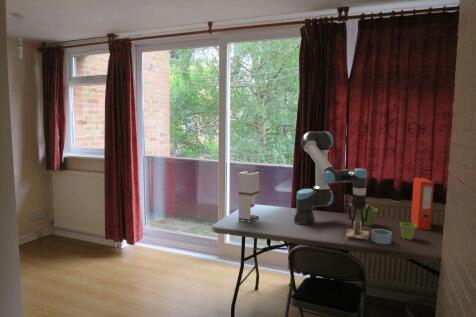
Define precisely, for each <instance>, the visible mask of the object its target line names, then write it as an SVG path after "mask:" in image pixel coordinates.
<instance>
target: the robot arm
mask: <svg viewBox="0 0 476 317" xmlns="http://www.w3.org/2000/svg"><path fill="white" fill-rule="evenodd" d="M300 145H301V147H302V149H303V150H304V152H306V153H307V154H308V155H309V156H310V158H311V159H312V161H313V162H314V164H315V185H314V186H313V188H302V189H300V190H298V191H297V192H296V212H295V215H294V217H293V223H294V222H295V223H294V224H296V223H298V224H297V225H300V224H302V225H301V226H312V224H313V225H315V224H316V218H315V214H314V208H318V207H327V206H330V205H331V204H332V203H333V201H334V194H333V191H332V190H331V187H330V186H329V184H336V183H352V200H351V202H348V203H347V207H348V218H349V219H348V220H350V221H351V225H352V226H353V229H354V230H353V231H354V232H355V223H356V222H357V221H356V219H355V218H356V213H357V210H359V211H360V218H361V220H360V222H359V223H360V232H361V230H362V228H364V222H365V221H367V217H368V211H369V208H370V207H371V205H370V204H367V202H366V197H367V195H366V194H367V182H368V181H367V178H368V173H367V172H368V171H367V169H365V168H354V169H353V170H352V169H349V168H344V169H341V170H340V169H339V170H338V169H337V170H336V169H335V168H334V167H333V165H332V164H331V163H330V162H329V160H328V158H329V155H328V153H329V152H330V150H331V148H332V147H333V145H334V136H333V135H332V133H331V132H329V131H325V130H321V131H318V130H317V131H310V130H309V131H307V132H306V133H304V134H303V135H302V137H301V141H300ZM352 206H353V208H354V209H353V214H352ZM364 207H366V208H367V209H366V215H365V219H364V216H363V208H364ZM362 231H363V230H362Z"/></svg>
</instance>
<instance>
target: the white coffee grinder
mask: <svg viewBox="0 0 476 317" xmlns="http://www.w3.org/2000/svg"><path fill="white" fill-rule="evenodd" d="M248 172H249V171H247V170H245V171H240V172H238V221H239V220H244V221H243V222H245V221H250V222H252V221H253V222H255V221H257V220H258V219H257V218H259V219H260V217H259V215H254V214H251V208H253V207H255V201H256V200H255V199H256V197H257V196H260V172H259V171H256V172H252V173H248ZM256 219H257V220H256ZM254 220H255V221H254ZM250 222H249V223H250ZM253 222H252V223H253Z"/></svg>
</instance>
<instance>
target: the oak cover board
mask: <svg viewBox="0 0 476 317" xmlns="http://www.w3.org/2000/svg"><path fill="white" fill-rule="evenodd" d="M353 230H354V228H347V230H346V232H345V235H344V236H345V237H346V236H347V237H354V238H361V239H368V236H370V235H369V234H370V231H369V230H361V232H360V222H357V221H356V223H355V232H354V231H353Z"/></svg>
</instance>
